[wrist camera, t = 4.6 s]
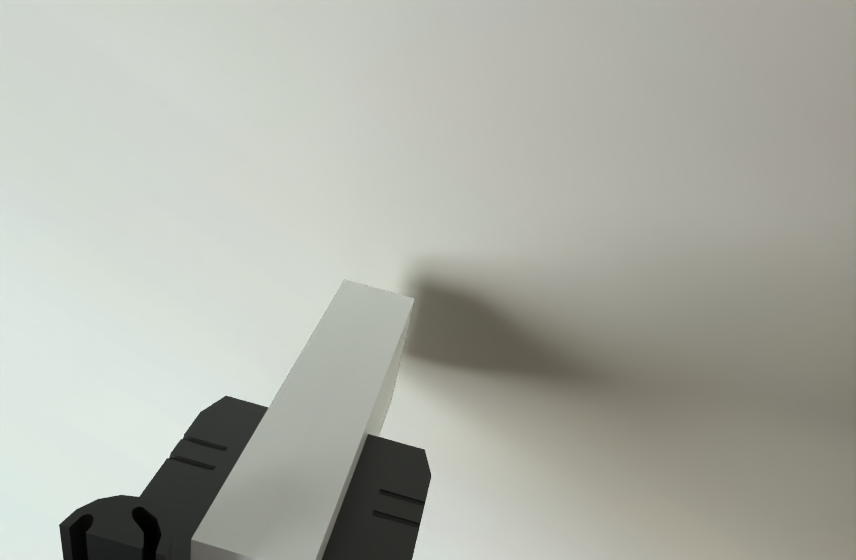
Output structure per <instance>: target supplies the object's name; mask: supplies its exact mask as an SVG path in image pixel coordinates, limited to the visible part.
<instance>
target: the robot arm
mask: <svg viewBox="0 0 856 560" xmlns="http://www.w3.org/2000/svg"><path fill="white" fill-rule="evenodd" d="M414 300H415V298H412V297H408V296H404V295H400V294H397V293H393V292H389V291H386V290H382V289H378V288H374V287H371V286H367V285H363V284H360V283H356V282H352V281H349V280H345V279H344V281H343V283H342V284H341V286H340V288H339V289H338V291H337V293H336V295H335V296H334V298H333V300H332V301H331V303H330V305H329V306H328V308H327V310H326V311H325V313H324V315H323V317H322V318H321V320H320V322H319V323H318V325H317V327H316V328H315V330H314V332H313V334H312V335H311V337H310V339H309V340H308V342H307V344H306V345H305V347H304V349H303V350H302V352H301V354H300V356H299V357H298V359H297V361H296V362H295V364H294V366H293V367H292V369H291V371H290V373H289V374H288V376H287V378H286V379H285V381H284V383H283V384H282V386H281V388H280V389H279V391H278V393H277V395H276V396H275V398H274V400H273V401H272V403H271V405H270V406H269V408H268V407H264V406H261V405H257V404H254V403H250V402H246V401H243V400H239V399H236V398H232V397H229V396H225V397H223V398H222V399H220V400H219V401H217V402H216V403H214V404H212V405H211V406H209V407H208V408H206V409H205V410H203V411H202V412H200V414H199V415H198V416H197V418H196V419H195V420H194V422H193V423H192V425H191V426H190V427H189V429H188V430H187V432H186V433H185V434H184V438H183V439H181V440H180V441H179V443H178V444H177V445H176V447H175V448H174V450H173V451H172V452H171V455H170V457H169V459H168V458H167V459H166V461H165V462H164V464H163V465H162V466H161V468H160V469H159V470H158V472H157V473H156V475H155V476H154V477H153V479H152V480H151V482H150V483H149V484H148V486H147V487H146V488H145V490H144V491H143V493H142V494H141V495H140V497H134V496H125V495H119V496H113V497H107V498H102V499H98V500H95V501H93V502H91V503H89V504H87V505H85V506H83V507H81V508H79V509H77V510H75V511H74V512H73V513H72V514H71V515H70V516H69V517H68V518H66V519H65V520H64V521H63V522H62V523H61V524H60V525H59V526H60V534H61V542H62V550H63V559H64V560H412V557H413V553H414V548H415V544H416V540H417V535H418V531H419V526H420V522H421V518H422V514H423V509H424V505H425V501H426V496H427V492H428V488H429V484H430V479H431V472H430V469H429V465H428V461H427V457H426V453H425V450H424V449H420V448H416V447H413V446H409V445H406V444H402V443H399V442H395V441H392V440H388V439H384V438H381V437H379V434H380V431H381V428H382V426H383V423H384V420H385V417H386V414H387V411H388V408H389V406H390V403H391V400H392V396H393V392H394V387H395V383H396V379H397V374H398V370H399V365H400V361H401V357H402V352H403V348H404V343H405V339H406V335H407V330H408V326H409V322H410V317H411V313H412V308H413V304H414Z"/></svg>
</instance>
